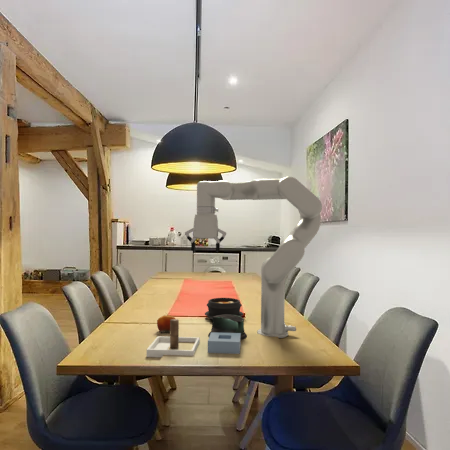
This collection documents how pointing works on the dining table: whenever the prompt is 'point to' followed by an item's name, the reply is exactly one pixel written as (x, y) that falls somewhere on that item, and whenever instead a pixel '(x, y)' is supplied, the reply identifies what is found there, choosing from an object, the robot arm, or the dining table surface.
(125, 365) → the dining table surface
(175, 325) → the pin
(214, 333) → the holder
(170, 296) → the dining table surface
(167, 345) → the tray
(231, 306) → the casserole
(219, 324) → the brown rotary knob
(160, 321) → the fruit
